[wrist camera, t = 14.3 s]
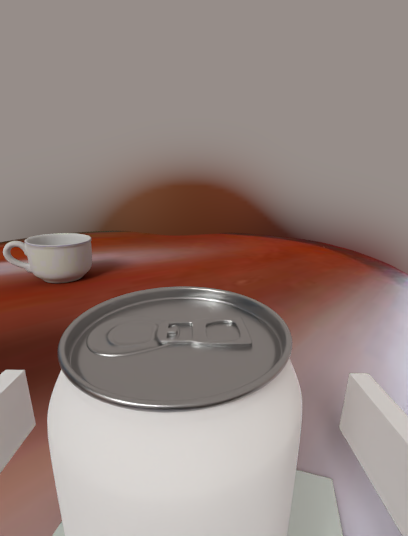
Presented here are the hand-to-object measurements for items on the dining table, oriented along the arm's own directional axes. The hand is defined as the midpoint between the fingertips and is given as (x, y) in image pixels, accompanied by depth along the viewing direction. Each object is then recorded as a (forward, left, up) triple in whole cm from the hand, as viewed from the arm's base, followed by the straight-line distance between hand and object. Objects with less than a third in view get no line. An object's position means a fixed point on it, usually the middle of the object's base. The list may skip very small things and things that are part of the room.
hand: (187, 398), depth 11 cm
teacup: (-36, +29, -8) cm, 47 cm away
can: (+1, -3, -7) cm, 8 cm away
